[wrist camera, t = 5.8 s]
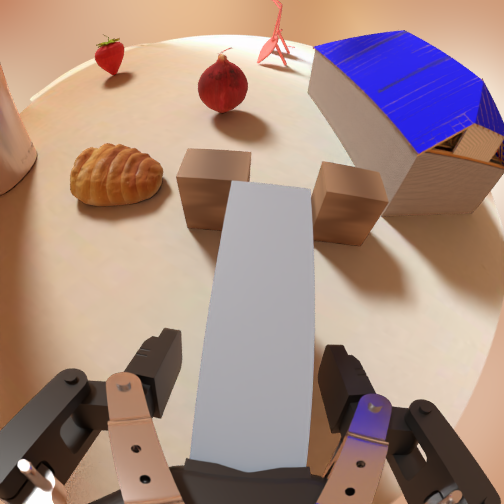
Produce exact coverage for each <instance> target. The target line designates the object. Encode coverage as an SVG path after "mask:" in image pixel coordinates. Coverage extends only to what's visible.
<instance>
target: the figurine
mask: <svg viewBox="0 0 504 504" xmlns="http://www.w3.org/2000/svg"><path fill="white" fill-rule="evenodd" d="M272 1H274V3H275V4H276V5H277V6H278V8H279V9H280V10H279V14H278V18H277V22H276V25H275V29H274V33H273V37H272V38H271V39H269V40H268V41H267V42H266V43H265V45H264V46H263V48H262V49H261V51H260V54H259V57H258V61H257V63H260V62H261V61H263V60H264V59H265V58H266V57H268V56H269V55H270V54H271V53H272V51H273V50H274V48H275V47H276V49H277V51H278V53H279V55H280V57H281V59H282V61H283V63H284V65H286V64H287V63H286V61H285V59H284V57H283V55H282V53H281V51H280V48H279V46H278V44H277V42H278V36H277V35H279V37H280V39H281V41H282V43H283V45H284V47H285V49H286V51H287V53H288V54H290V52H289V50H288V48H287V46H286V43H285V41H284V39H283V37H282V35H281V33H280V32H281V31H282V29H281V30H279V25H280V19H281V12H282V4H281V3H280V2H279V1H278V0H276V1H277V2H278V3H279V4H280V5H281V6H279V5H278V4H277V2H276V1H275V0H272ZM277 26H278V28H277ZM276 29H277V31H276ZM275 33H276V34H275ZM288 47H291V46H288ZM293 48H295V47H293ZM229 49H231V48H229ZM226 50H228V49H226ZM224 51H225V50H224ZM221 53H222V52H221ZM219 55H220V54H219Z"/></svg>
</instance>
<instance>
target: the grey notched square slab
mask: <svg viewBox="0 0 504 504" xmlns="http://www.w3.org/2000/svg"><path fill="white" fill-rule="evenodd" d="M314 338H315V280H314V245H313V224H312V207H311V192H310V189H306V188H298V187H290V186H282V185H273V184H264V183H254V182H244V181H232V182H231V187H230V192H229V197H228V203H227V208H226V213H225V218H224V224H223V229H222V234H221V240H220V246H219V251H218V257H217V263H216V269H215V274H214V280H213V286H212V293H211V299H210V305H209V312H208V318H207V325H206V331H205V338H204V345H203V352H202V359H201V367H200V374H199V382H198V390H197V398H196V406H195V415H194V423H193V433H192V442H191V452H190V459H193V460H199V461H205V462H212V463H218V464H221V465H224V466H227V467H230V468H233V469H237V470H240V471H244V472H256V471H263V470H269V469H274V468H280V467H306V464H307V455H308V445H309V434H310V422H311V408H312V392H313V372H314Z"/></svg>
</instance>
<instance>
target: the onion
mask: <svg viewBox="0 0 504 504" xmlns="http://www.w3.org/2000/svg"><path fill="white" fill-rule="evenodd" d="M247 90H248V83H247V79H246V77H245V75H244V73H243V72H242V70H241V69H240V68H239V67H238V66H236V65H235V64H233V63H231V62H229V61H228V60H227V57H226V56H225V55H223V54H221V55H220V56H218V60H217V62H216V63H215V64H213V65H211V66H210V67H209V68H207V69H206V70H205V71H204V73H203V74H202V75H201V77H200V79H199V83H198V93H199V96H200V99H201V100H202V101H203V103H204V104H205V105H206V106H208V107H209V108H210V109H213V110H215V111H217V112H220V113H225V112H227V111H229V110H232V109H234V108H235V107H236V106H238V105H239V104H241V102H242V101H243V100H244V99H245V96H246V93H247Z"/></svg>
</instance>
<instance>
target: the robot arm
mask: <svg viewBox="0 0 504 504" xmlns="http://www.w3.org/2000/svg"><path fill="white" fill-rule="evenodd" d="M36 157H37V152H36V149H35V147H34V145H33V143H32V141H31V139H30V137H29V135H28V133H27V131H26V129H25V126H24V124H23V122H22V120H21V118H20V115H19V113H18V110H17V108H16V106H15V103H14V101H13V98H12V96H11V93H10V90H9V88H8V85H7V82H6V79H5V76H4V73H3V70H2V67H1V64H0V195H1V194H4V193H5V192H7V191H8V190H10V189H11V188H12V187H14V186H15V185H16V184H17V183H18V182H19V181H20V180H21V179H22V178H23V177H24V176H25V175H26V174H27V172H28V171H29V170H30V168H31V167H32V165H33V164H34V162H35V160H36ZM181 364H182V341H181V331H180V330H174V329H168V328H164V329H163V331H162V332H161V334H160V336H159V337H154V336H152V337H151V338H149V339H147V340H146V341H144V343H143V344H142V346H141V347H140V349H139V350H138V351H137V353H136V354H135V356H134V357H133V359H132V360H131V362H130V363H129V365H128V366H127V368H126V369H125V371H124V372H120V373H116V374H113V375H111V376H110V377H109V378H108V379H107V381H106V382H101V381H88V379H87V376H86V374H85V373H84V372H83V371H81V370H78V369H66V370H63V371H61V372H60V373H59V374H58V375H56V376H55V377H54V378H53V379H52V380H51V381H50V382H49V383H48V384H47V385H46V386H45V387H44V388H43V389H42V390H41V391H40V392H39V393H38V394H37V395H36V396H35V397H33V398H32V399H31V400H30V401H29V402H28V403H27V404H26V405H25V406H24V407H23V408H22V409H21V410H20V411H19V412H18V413H17V414H16V415H15V416H14V417H13V418H12V419H11V420H10V421H9V422H8V423H7V425H6V426H5V427H4V428H3V429H2V430H1V431H0V500H1V501H3V502H4V503H5V504H66V501H67V491H66V488H65V487H64V485H65V483H66V482H67V480H68V479H69V477H70V476H71V474H72V473H73V471H74V470H75V468H76V467H77V465H78V464H79V462H80V461H81V459H82V458H83V457H84V455H85V454H86V452H87V451H88V449H89V448H90V446H91V445H92V443H93V442H94V440H95V439H96V438H97V436H98V435H99V433H100V432H101V430H106V431H109V437H110V443H111V449H112V454H113V459H114V464H115V469H116V473H117V477H118V481H119V485H120V490H118V491H116V492H113V493H111V494H109V495H107V496H105V497H103V498H100V499H98V500H96V501H93V502H91V503H88V504H372V501H373V498H374V496H375V493H376V490H377V486H378V483H379V480H380V477H381V473H382V470H383V466H384V462H385V459H387V461H388V463H389V465H390V467H391V469H392V471H393V473H394V475H395V477H396V480H397V482H398V484H399V486H400V488H401V490H402V492H403V494H404V497H405V499H406V500H407V503H408V504H501V500H500V497H499V495H498V493H497V492H496V490H495V488H494V487H493V485H492V484H491V482H490V481H489V479H488V478H487V476H486V475H485V473H484V472H483V470H482V469H481V467H480V466H479V464H478V463H477V462H476V460H475V459H474V457H473V456H472V454H471V453H470V452H469V450H468V449H467V447H466V446H465V445H464V443H463V442H462V440H461V439H460V438H459V437H458V435H457V434H456V432H455V431H454V430H453V428H452V427H451V426H450V424H449V423H448V422H447V420H446V419H445V418H444V416H443V415H442V414H441V412H440V411H439V410H438V408H437V407H436V406H435V405H434V404H433V403H431V402H430V401H427V400H422V399H421V400H415V401H413V402H412V403H411V405H410V407H409V408H400V407H393V406H392V405H391V403H390V401H389V400H388V399H387V398H385V397H384V396H382V395H379V394H376V393H375V391H374V389H373V387H372V385H371V383H370V381H369V379H368V377H367V376H366V373H365V371H364V370H363V367H362V365H361V363H360V361H359V360H358V359H356V358H355V357H354V356H353V355H348V354H347V352H346V350H345V348H344V346H343V345H327V346H326V347H325V351H324V354H323V358H322V361H321V365H320V368H319V372H318V383H319V387H320V391H321V395H322V398H323V402H324V406H325V410H326V414H327V418H328V422H329V426H330V430H331V433H341V438H340V440H339V442H338V444H337V447H336V449H335V451H334V453H333V455H332V457H331V460H330V462H329V464H328V466H327V468H326V470H325V472H324V473H323V475H322V477H321V476H317V475H312V474H311V473H310V467H280V468H274V469H269V470H263V471H256V472H244V471H240V470H237V469H233V468H230V467H227V466H224V465H221V464H218V463H212V462H205V461H199V460H193V459H188V458H186V461H185V465H184V466H172V467H168V464H167V462H166V459H165V457H164V454H163V451H162V448H161V445H160V443H159V440H158V437H157V434H156V431H155V427H154V424H153V421H152V418H153V417H156V418H160V419H161V417H162V415H163V412H164V409H165V407H166V404H167V402H168V399H169V397H170V394H171V392H172V389H173V387H174V384H175V382H176V379H177V377H178V374H179V372H180V369H181ZM418 443H419V444H420V446H421V447H422V449H423V451H424V452H425V454H426V456H427V462H426V461H425V460H424V458H423V456H422V454H421V453H420V451H419V449H418V448H417V445H418Z"/></svg>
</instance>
